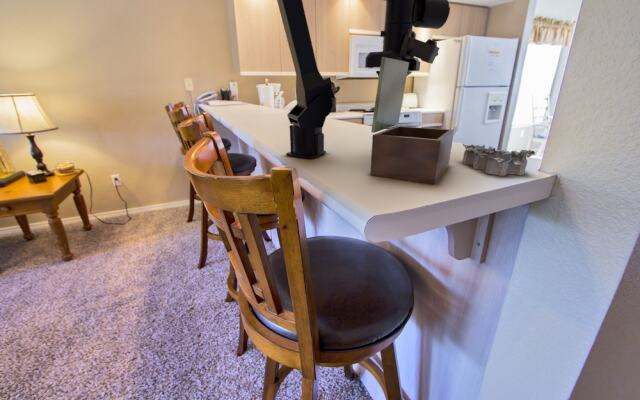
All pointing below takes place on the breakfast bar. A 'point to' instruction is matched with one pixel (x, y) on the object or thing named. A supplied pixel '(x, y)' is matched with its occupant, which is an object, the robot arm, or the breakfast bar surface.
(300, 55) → the robot arm
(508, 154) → the egg carton
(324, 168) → the breakfast bar surface
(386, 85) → the lid
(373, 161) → the box
